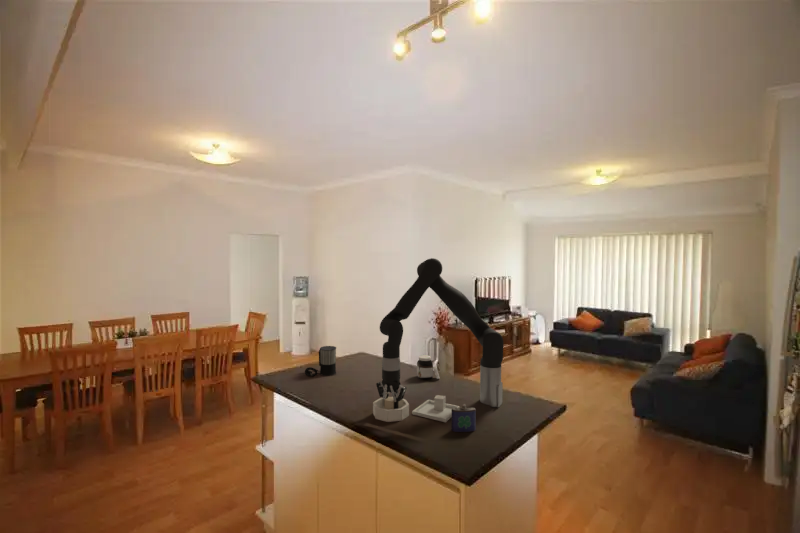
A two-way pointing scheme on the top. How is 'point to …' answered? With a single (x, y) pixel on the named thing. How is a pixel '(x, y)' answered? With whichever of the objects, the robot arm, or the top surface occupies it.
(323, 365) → the milk frother
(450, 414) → the tray
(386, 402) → the cream wooden brick
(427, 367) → the spread jar
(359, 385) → the top surface
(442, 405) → the pebble grey
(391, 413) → the bowl
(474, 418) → the flask
